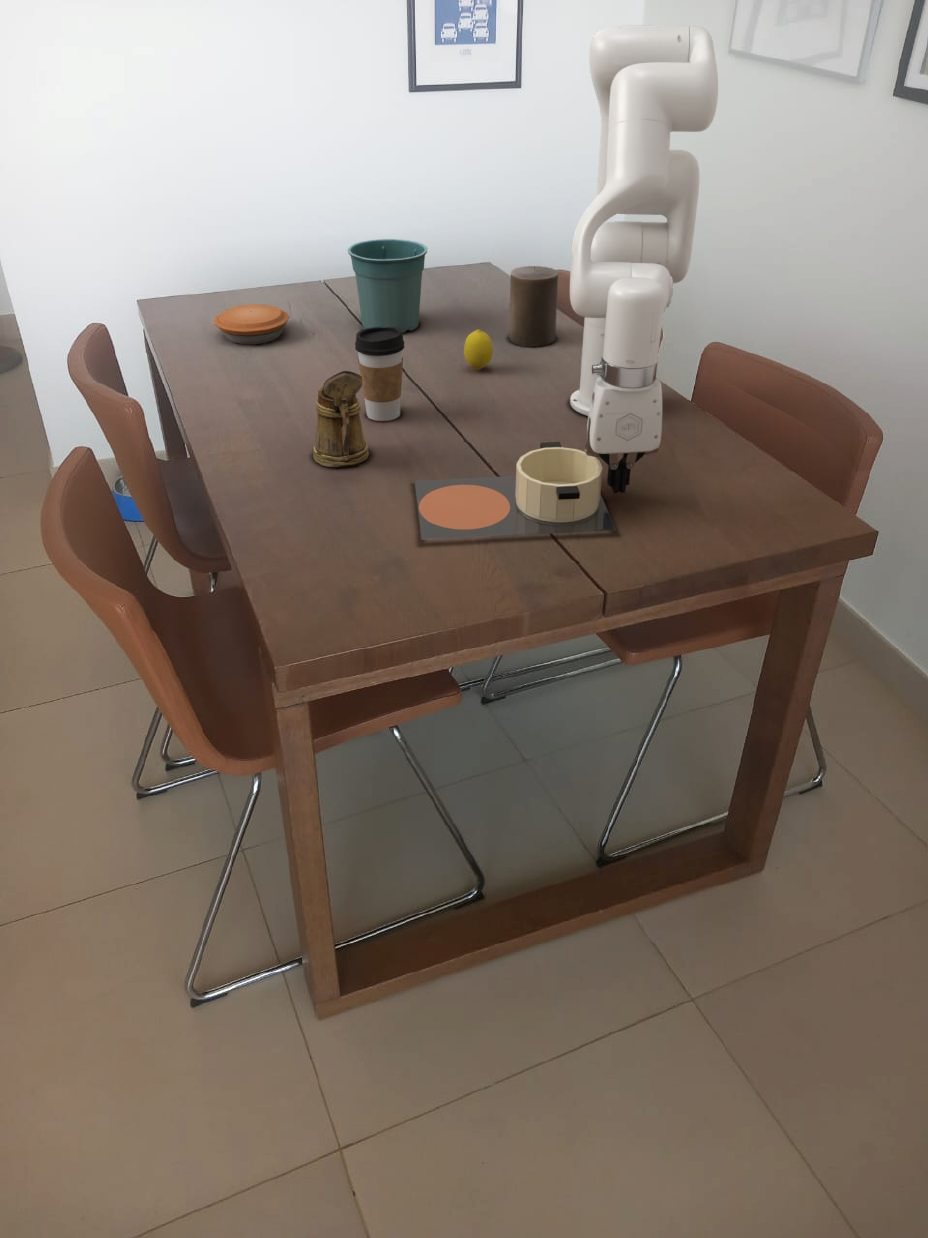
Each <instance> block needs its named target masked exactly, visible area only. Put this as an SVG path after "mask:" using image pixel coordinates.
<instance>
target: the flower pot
mask: <svg viewBox="0 0 928 1238" xmlns="http://www.w3.org/2000/svg"><path fill="white" fill-rule="evenodd" d="M347 253H348V255H349V256H350V259H351V265H352V266H351V267H352V270H353V272H354V275H355V282H356V288H357V289H356V290H357V296H358V302H359V310H360V311H359V312H360V318H361V325H362V327H363V329H367V328H373V327H396V328H399V329H401V331H402V334H404V333H405V332H406V331H414V330H415V329H417V327H418V326H419V325H420V324H419V322H420V309H421V293H422V278H423V271H424V269H425V259H426V254H427V253H428V247H427V246H426V245H425V244H423V243H421V242H418V241H414V240H410V239H409V240H408V239H399V238H381V239H379V238H378V239H370V240H364V241H359V242H356V243H354V244H351V245H350V246H349V247H348V248H347Z"/></svg>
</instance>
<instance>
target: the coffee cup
mask: <svg viewBox="0 0 928 1238" xmlns="http://www.w3.org/2000/svg"><path fill="white" fill-rule="evenodd" d="M354 346H355V347H354V348H355V351H356V352H357V354H358V360H357V361H358V368H359V375H360V376H361V377H362V387H361V388H362V393H363V397H364V405H365V412H366V417H367V418H368V419H369V420H372V421H375V422H389V421H393V420H396V419H398V418H399V417H400V415H401V399H402V385H403V368H404V367H403V366H404V357H403V350H404V349H405V340H404V335H403V333H402V331H401V329H399V328H396V327H373V328H367V329H365V328H363V329H361V330H359V331H357V333H356V334H355V342H354Z"/></svg>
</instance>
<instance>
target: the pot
mask: <svg viewBox="0 0 928 1238" xmlns="http://www.w3.org/2000/svg"><path fill="white" fill-rule="evenodd" d="M539 445H540V446H539V448H538V449H533V450H529V451H528V452H527V453H524V454H523V455H521V456H520V457H519V459H518V461H517V462H516V464H515V465H516V466H515V467H516V468H515V476H516V493H515V497H516V504H517V506H518V508H519V509H520V510H521V511H522V512H523V513H525V514H526V515H528V516H530V517H532V518H535V519H538V520H542V521H547V522H558V523H561V522H573V521H578V520H582V519H585V518H587V517H589V516H591V515H592V514H593V513H595V511H596V510H597V508H598V506H599V501H600V494H601V492H602V482H603V481H602V479H603V471H604V470H603V466H602V463H601V461H600V459H598V458H597V457H592V456H587V455H586V453H585V451H583V450H581V449H578V448H570V447H563V446H562V444H561V441H548V442H540V444H539Z"/></svg>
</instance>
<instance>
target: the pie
mask: <svg viewBox="0 0 928 1238" xmlns="http://www.w3.org/2000/svg"><path fill="white" fill-rule="evenodd" d="M289 319H290V315H289V313H288V312H287V311H285V310H283V309H281V308H278V307H277V306H275V305H271V304H270V305H269V304H264V303H263V304H260V303H251V304H243V305H237V306H232V307H230V308H228V309H225V310H224V311H222V312H221V313H220V314H218V315H216V316H214V319H213V324H214V325H215V326H216V328H218V329H219V330H220V331H221V332H222V334H223V335H224V336H225V338H227V339H228V340H229V341H230V342H232V343H235V344H240V345H259V344H265V343H269V342H272V341H274V340H277V339H278V338H279V337H280V336H281V335H282V332H283V330H284V329H285V327H286V325H287V324H288V323H287V322H288V321H289Z"/></svg>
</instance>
